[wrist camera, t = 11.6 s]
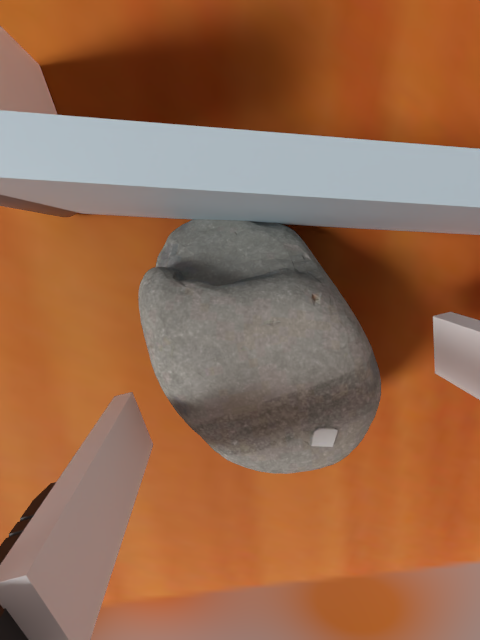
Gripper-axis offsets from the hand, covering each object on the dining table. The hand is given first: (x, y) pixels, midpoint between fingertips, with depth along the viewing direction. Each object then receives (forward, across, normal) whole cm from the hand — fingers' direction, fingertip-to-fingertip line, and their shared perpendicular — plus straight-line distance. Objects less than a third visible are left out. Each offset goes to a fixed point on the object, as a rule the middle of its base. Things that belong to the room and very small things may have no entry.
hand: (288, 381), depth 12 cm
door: (+4, +2, +7) cm, 9 cm away
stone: (+4, -1, +2) cm, 5 cm away
